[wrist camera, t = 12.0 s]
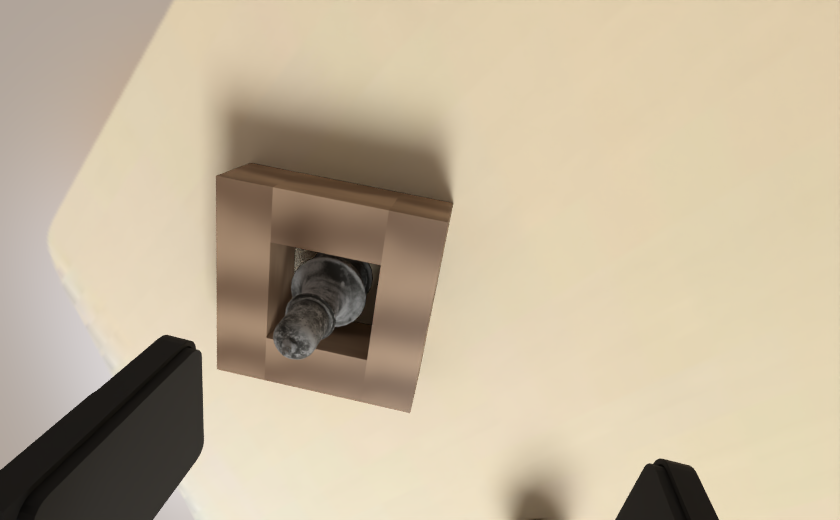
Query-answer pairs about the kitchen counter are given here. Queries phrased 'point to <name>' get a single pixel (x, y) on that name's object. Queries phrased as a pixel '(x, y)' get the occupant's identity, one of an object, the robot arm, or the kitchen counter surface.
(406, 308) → the well block
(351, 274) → the dark stone chess piece
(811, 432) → the kitchen counter surface
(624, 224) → the kitchen counter surface
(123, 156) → the kitchen counter surface
